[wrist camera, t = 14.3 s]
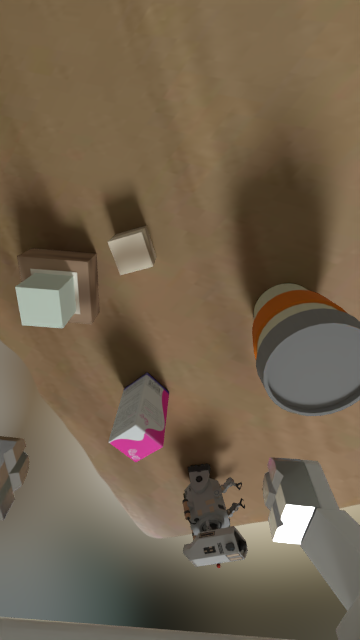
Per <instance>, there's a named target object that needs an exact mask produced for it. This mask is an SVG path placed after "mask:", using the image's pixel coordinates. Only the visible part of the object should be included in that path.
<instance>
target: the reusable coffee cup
mask: <svg viewBox="0 0 360 640" xmlns="http://www.w3.org/2000/svg"><path fill="white" fill-rule="evenodd" d="M252 335H253V347H254V354H255V359H256V368H257V372H258V375H259V377H260V379H261V381H262V383H263V385H264V387H265V389H266V391H267V393H268V395H269V397H270V398H271V399H272V400H273V402H274V403H275V404H277V405H278V406H279V407H281V408H282V409H284V410H286V411H289V412H291V413H295V414H298V415H305V416H321V415H326V414H331V413H335V412H338V411H341V410H343V409H345V408H347V407H349V406H351V405H353V404H354V403H356V402H357V401H359V400H360V322H359V321H358V320H357V319H356V318H355V317H353V316H351V315H349V314H348V313H347V312H346V311H344V310H343V309H342V308H341V307H339V306H338V305H336V304H335V303H333V302H332V301H330V300H328V299H327V298H325V297H324V296H322V295H320V294H318V293H316V292H313V291H309V290H307V289H306V288H304V287H302V286H300V285H297V284H291V283H286V284H280V285H276V286H274V287H272V288H270V289H268V290H267V291H265V292H264V293H263V294H262V295H261V296H260V298H259V299H258V300H257V303H256V305H255V308H254V323H253V327H252Z"/></svg>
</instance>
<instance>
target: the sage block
mask: <svg viewBox="0 0 360 640" xmlns="http://www.w3.org/2000/svg"><path fill="white" fill-rule="evenodd" d="M15 288H16V293H17V299H18V304H19V310H20V316H21V321H22V325H28V326H40V327H53V328H64V326H65V325H66V324H67V322H68V321H69V320H70V318H71V317H72V316H73V315H74V313H75V312H76V301H75V290H74V278H73V276H66V275H54V274H42V273H34V274H33V275H31V276H30V277H28V278H27V279H26V280H24V281H23V282H21V283H20V284H19V285H17V286H16V287H15Z"/></svg>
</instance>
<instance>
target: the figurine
mask: <svg viewBox="0 0 360 640" xmlns="http://www.w3.org/2000/svg"><path fill="white" fill-rule="evenodd" d="M188 472H189V477H190V482H191V483H190V484H189V486H188V487H187V488H186V489H185V493H184V494H183V495H184V500H183V505H184V513H185V518H186V520H188V521H189V522H190V525H191V526H190V527H191V530H192V536H193V542H192V543H191V544H186V545H184V548H183V553H184V555H185V556H186V557H187V558H188V559H189V560H190V561H191V562H192V563H193V564H194V565H195V566H196V567H197V566H203V565H210V564H217V567H218V568H220V564H219V563H223V562H230V561H236V560H243V559H245V557H246V554H247V551H248V550H247V545H246V541H245V539H244V538H243V537H242V535H241V534H240V533H239V532H238V530H237V529H236V528H235V527H234V526H232V527H230V519H229V518H228V516H229V517H232V516H233V514H232V513H234V511H237V510H238V507H239V506H242V507H243V508H244V509H245V505H244V506H243V505H242V504H241V502H242V500H243V499H242V498H241V500H240V503H238V504H237V503H233V504H232V506H231V507H230V509H227V510H226V507H225V504H224V500H223V497H222V492H223V493H225V492H226V491H227V489H228V488H229V486H232V485H234V486H236V487H237V488H238V489H239V490H240V488H241V487H242V482H240V483H238V484H237V483H234V480H233V479H232V478H231V477H229V478H228V479H227V481H226V482H225V483H224V485H221V486H220V484H219V482H218V481H217V480H214V479H211V478H209V474H210V465H208V464H205V465H203V464H201V466H197V465H195V466H194V467H193V466H192V465H191V466H190V467H188ZM240 484H241V487H240V488H239V487H238V485H240ZM243 501H244V500H243Z"/></svg>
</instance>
